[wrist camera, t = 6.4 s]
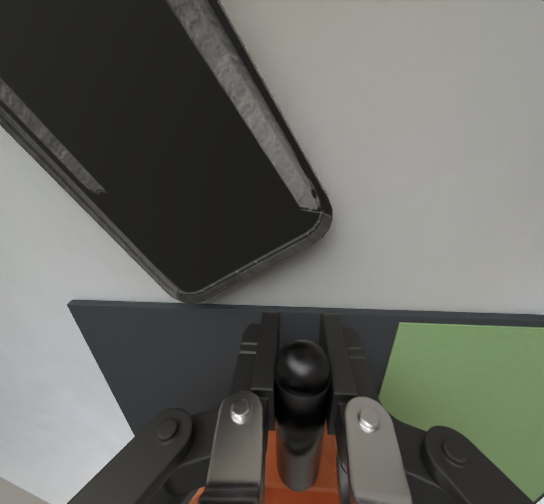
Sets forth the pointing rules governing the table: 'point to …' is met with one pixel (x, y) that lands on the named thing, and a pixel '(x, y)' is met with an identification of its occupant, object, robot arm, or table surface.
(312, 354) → the saucepan
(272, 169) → the phone
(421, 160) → the table surface
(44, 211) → the table surface
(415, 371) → the mat
